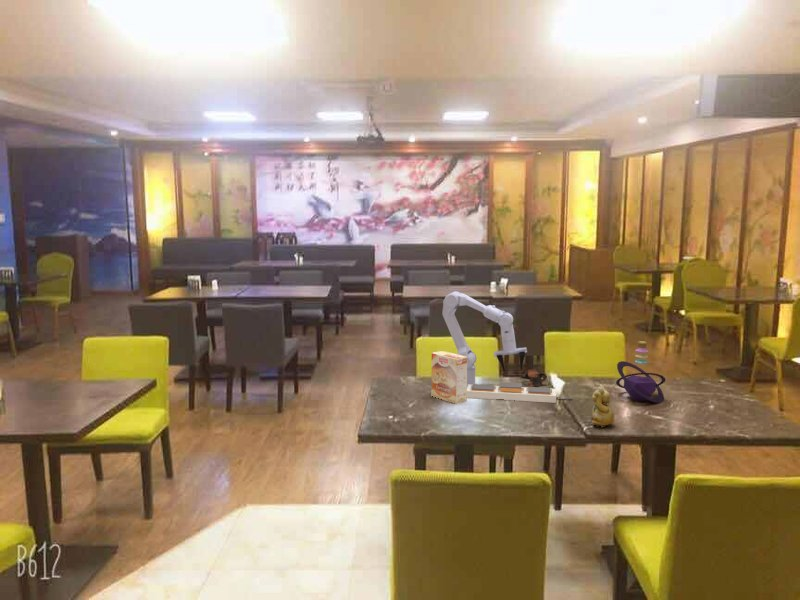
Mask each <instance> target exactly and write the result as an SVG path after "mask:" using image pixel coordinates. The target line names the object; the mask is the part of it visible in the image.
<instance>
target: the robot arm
mask: <svg viewBox="0 0 800 600" xmlns="http://www.w3.org/2000/svg"><path fill="white" fill-rule="evenodd" d="M442 302H443V303H442V304H443V305H442V311H441V312H442V313H441V314H442V317H443V319H444V322H445V325H446V326H447V328H448V332H449V333H450V336H451V338H452V341H453V343H454V345H455V348H456V351H457V353H456V354H458V355H462V356H467V387H468V384H472V385H473V384H477V383H476V365H475V363H476V361H477V355H476V353H475V352H473V350H472V349H471V347H470V346H469V345H468V343H467V341H466V337H465V336H464V333H463V330H462V329H461V326H460V324H459V322H458V319H457V317H456V315H455V313H456V311H457V308H458V307H462V306H467V307H470V308H472V309H474V310H476V311H478V312H481V313H482V315H483V316H484V317H485V318H486V319H488V320H491V321H492V322H494V323H498V326H500V334H501V342H502V349H501V350H496V351H493V356H494V358H496V359H497V360H498V361H499V363H500V365H501V367H502V371H503V373H505V372H506V369H505V365H504V364H505V362H504V357H503V356H508V355H516V354H518V360H519V368H520V370H523V366H524V365H523V363H524V359H525V357H526V353H528V349H527V347H518V348H517V343H516V337H515V335H516V334H515V329H514V325H513V323H514V316H513V315H512V314H511V313H510V312H508V311H507V312H506V311H505V310H501V309H499V308H497V307H496V305H494V304H493V305H491V304H489V305H485V304H483V303H481V302H480V301H478V300H476V299H474V298H473V297H471V296H469V295H468V294H465V293H462V292H460V291H458V290H456V291H455V290H454V291H452V292H450V293H449V294H447V295H446V296H445V298H444V299H443V301H442Z"/></svg>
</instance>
